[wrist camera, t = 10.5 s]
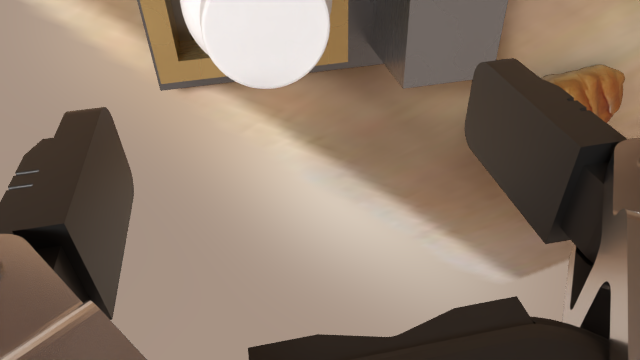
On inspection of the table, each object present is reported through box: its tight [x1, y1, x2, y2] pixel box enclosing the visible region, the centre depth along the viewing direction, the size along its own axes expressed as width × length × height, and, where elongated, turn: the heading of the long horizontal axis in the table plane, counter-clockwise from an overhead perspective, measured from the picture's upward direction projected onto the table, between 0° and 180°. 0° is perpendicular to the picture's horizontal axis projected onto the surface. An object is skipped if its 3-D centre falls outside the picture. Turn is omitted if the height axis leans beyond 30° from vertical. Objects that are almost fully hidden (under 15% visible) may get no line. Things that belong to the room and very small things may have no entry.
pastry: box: [542, 65, 625, 123], centre depth 32 cm, size 9×7×4 cm
